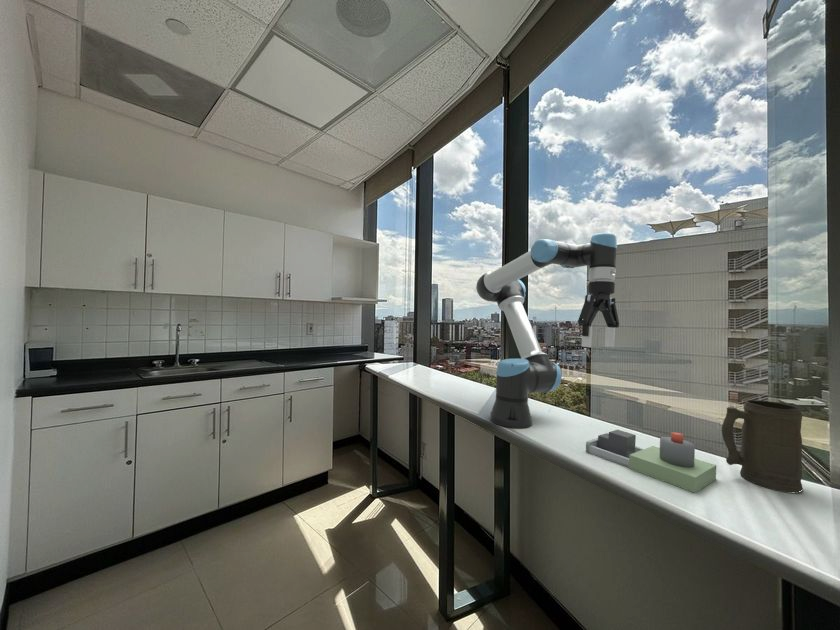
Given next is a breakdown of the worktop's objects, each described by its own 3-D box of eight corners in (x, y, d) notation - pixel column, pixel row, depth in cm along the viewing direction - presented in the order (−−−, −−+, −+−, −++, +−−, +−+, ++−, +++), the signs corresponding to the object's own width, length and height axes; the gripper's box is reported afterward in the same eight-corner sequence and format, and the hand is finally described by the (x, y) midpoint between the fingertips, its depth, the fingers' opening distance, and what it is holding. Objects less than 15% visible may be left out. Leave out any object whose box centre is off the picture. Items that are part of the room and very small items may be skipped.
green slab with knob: (584, 451, 96) (586, 416, 97) (609, 443, 104) (610, 410, 104) (694, 492, 75) (696, 446, 75) (715, 479, 82) (717, 437, 82)
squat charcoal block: (597, 449, 98) (598, 428, 98) (606, 446, 100) (607, 426, 101) (626, 459, 91) (627, 437, 91) (634, 455, 94) (635, 434, 94)
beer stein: (775, 474, 87) (771, 398, 87) (821, 495, 76) (816, 409, 76) (713, 473, 88) (709, 398, 89) (749, 493, 77) (744, 408, 78)
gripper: (591, 276, 96) (587, 348, 96) (632, 284, 110) (629, 347, 110) (568, 278, 103) (564, 345, 103) (610, 285, 116) (606, 345, 116)
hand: (598, 346), depth 106 cm, fingers open, 13 cm apart
